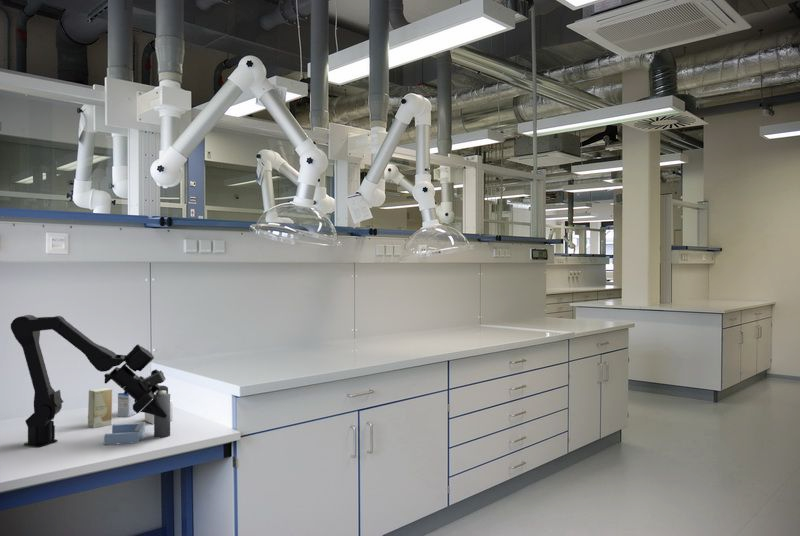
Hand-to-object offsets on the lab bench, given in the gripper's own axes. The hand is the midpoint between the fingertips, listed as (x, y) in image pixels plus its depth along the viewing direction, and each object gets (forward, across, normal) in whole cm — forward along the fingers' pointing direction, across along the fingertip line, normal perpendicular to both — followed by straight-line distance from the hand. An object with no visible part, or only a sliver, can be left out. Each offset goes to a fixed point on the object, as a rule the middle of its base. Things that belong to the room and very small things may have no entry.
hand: (166, 414), depth 189 cm
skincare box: (-12, +18, +21) cm, 30 cm away
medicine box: (-7, +32, +16) cm, 36 cm away
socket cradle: (-4, 0, +14) cm, 15 cm away
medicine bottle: (+1, +20, +8) cm, 22 cm away
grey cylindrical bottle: (+4, 0, +6) cm, 7 cm away
